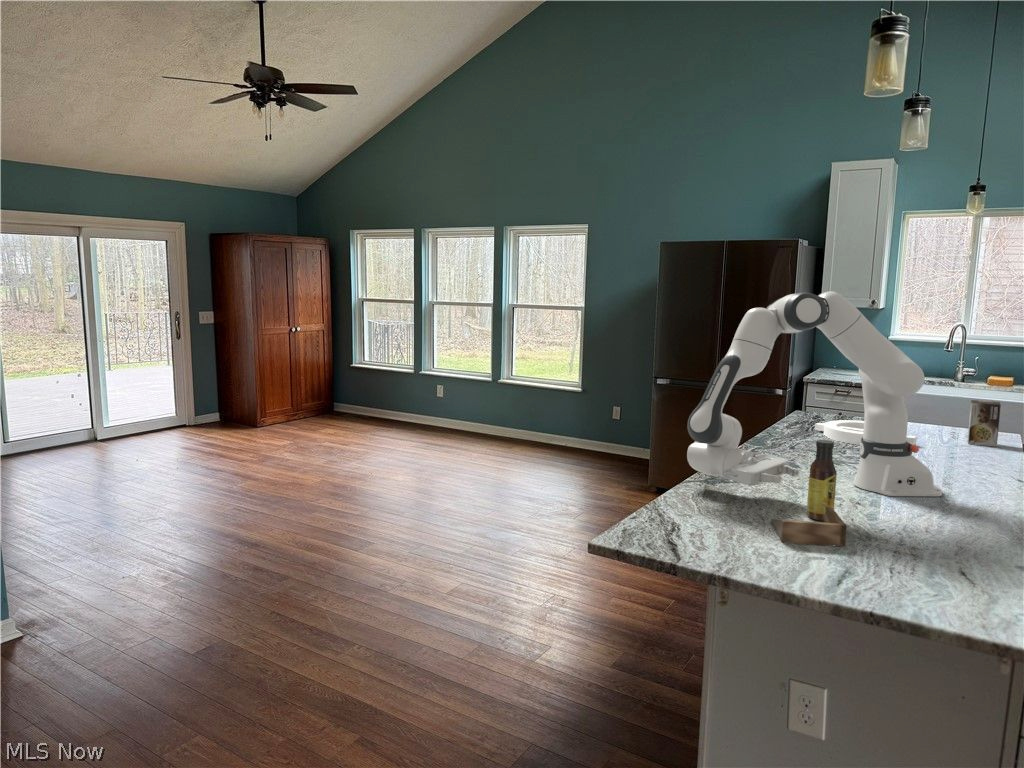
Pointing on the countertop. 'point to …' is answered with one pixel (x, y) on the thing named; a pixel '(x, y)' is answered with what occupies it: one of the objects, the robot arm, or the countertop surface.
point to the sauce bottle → (821, 481)
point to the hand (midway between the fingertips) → (789, 476)
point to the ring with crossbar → (848, 431)
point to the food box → (984, 423)
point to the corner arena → (813, 530)
